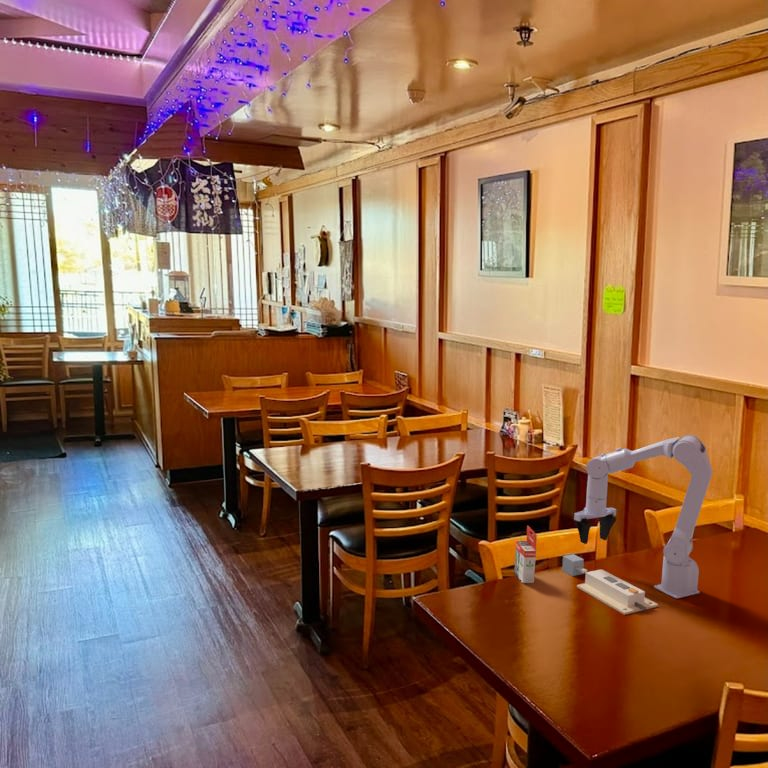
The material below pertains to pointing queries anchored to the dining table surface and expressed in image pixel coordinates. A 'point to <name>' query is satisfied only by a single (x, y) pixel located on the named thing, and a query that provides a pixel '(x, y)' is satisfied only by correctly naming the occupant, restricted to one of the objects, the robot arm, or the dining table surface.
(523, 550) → the ink box
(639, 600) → the power strip
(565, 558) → the charger plug
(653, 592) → the dining table surface
